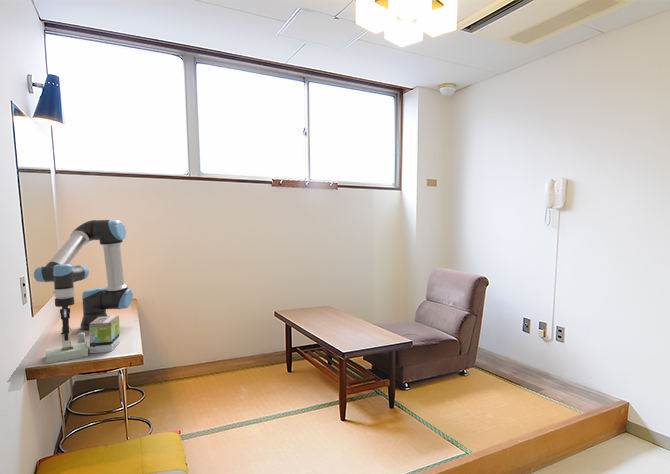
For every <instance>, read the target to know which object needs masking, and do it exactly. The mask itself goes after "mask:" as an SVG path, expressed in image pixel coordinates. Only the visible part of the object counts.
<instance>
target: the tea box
mask: <svg viewBox="0 0 670 474" xmlns="http://www.w3.org/2000/svg"><path fill="white" fill-rule="evenodd" d="M88 331H89V332H88V333H89V337H88V338H89V340H88V342H89V354H99V353H100V354H101V353H109V352H112V351H113V350H114V349H115V347H117V345H119V344H120V340H121V339H120V315H107V316H103V317H98V318H96V319H95V320H94V321H93V322H91V323H90V324H89V330H88Z"/></svg>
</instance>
